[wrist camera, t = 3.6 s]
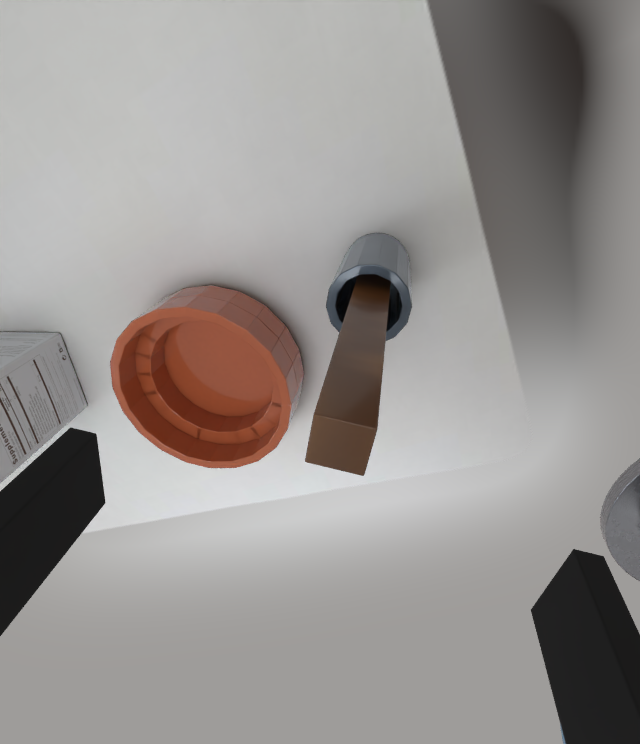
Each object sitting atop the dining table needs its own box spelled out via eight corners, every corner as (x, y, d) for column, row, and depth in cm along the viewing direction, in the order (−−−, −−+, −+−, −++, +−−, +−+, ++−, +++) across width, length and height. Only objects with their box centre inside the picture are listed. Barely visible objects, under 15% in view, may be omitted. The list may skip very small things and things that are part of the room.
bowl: (316, 304, 37) (302, 332, 32) (293, 444, 45) (279, 485, 40) (143, 266, 38) (102, 288, 33) (149, 410, 46) (117, 445, 41)
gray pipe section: (417, 239, 33) (421, 274, 26) (400, 304, 36) (398, 352, 28) (350, 225, 34) (334, 255, 26) (338, 290, 36) (320, 335, 29)
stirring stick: (393, 258, 34) (377, 428, 15) (386, 285, 35) (363, 476, 16) (365, 252, 34) (313, 413, 15) (359, 279, 35) (304, 462, 16)
